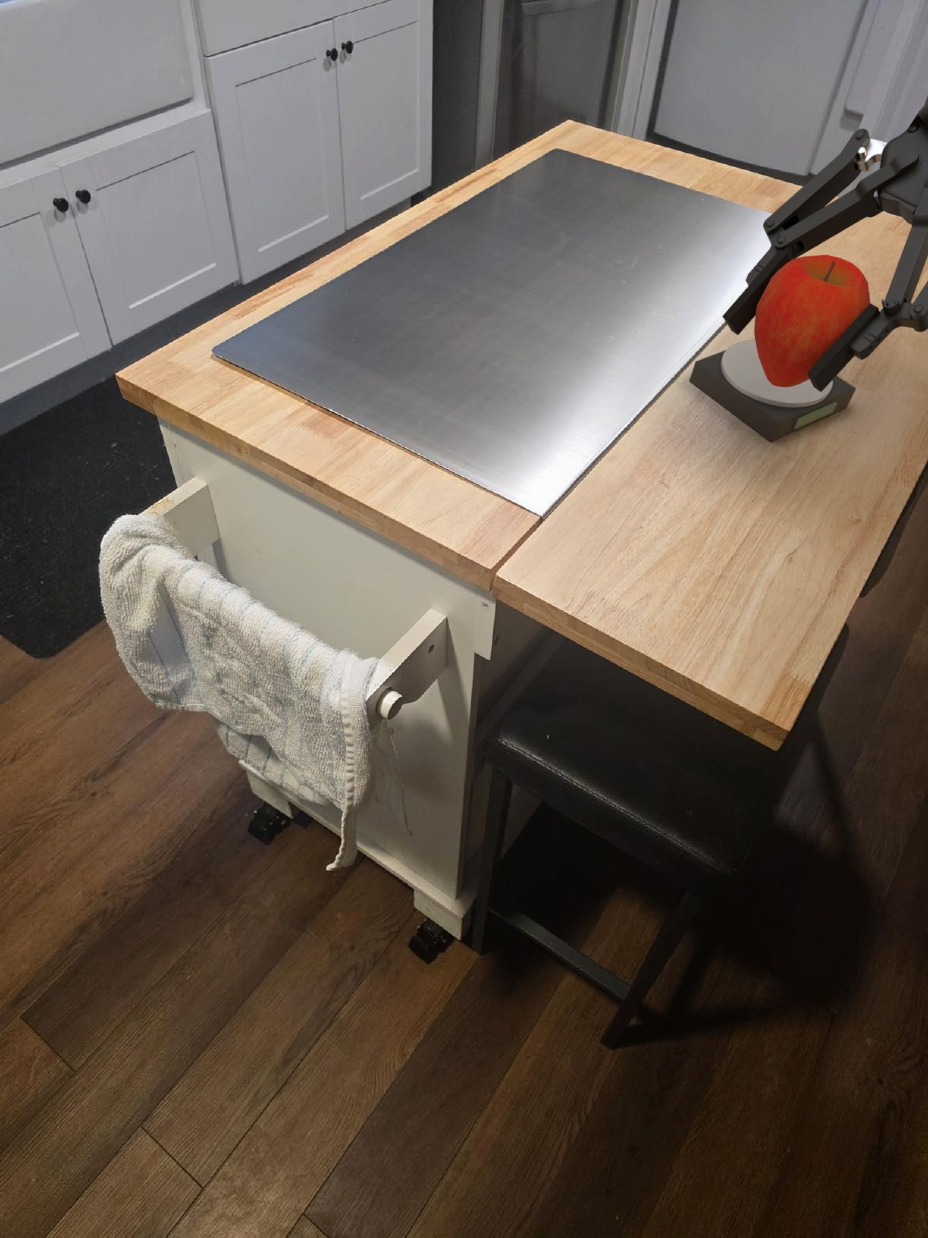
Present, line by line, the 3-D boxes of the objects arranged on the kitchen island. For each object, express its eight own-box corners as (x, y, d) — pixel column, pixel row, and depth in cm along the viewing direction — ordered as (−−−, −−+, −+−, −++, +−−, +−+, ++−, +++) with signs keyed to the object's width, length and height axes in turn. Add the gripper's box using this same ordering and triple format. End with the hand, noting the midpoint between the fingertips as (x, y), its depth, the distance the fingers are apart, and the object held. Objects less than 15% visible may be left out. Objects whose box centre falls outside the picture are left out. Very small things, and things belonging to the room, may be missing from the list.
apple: (806, 428, 70) (862, 304, 62) (714, 383, 73) (755, 260, 65) (848, 383, 75) (906, 263, 67) (760, 342, 78) (805, 223, 70)
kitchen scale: (848, 409, 93) (860, 384, 91) (772, 443, 88) (782, 418, 86) (764, 351, 100) (773, 327, 97) (688, 381, 95) (696, 356, 92)
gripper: (1123, 192, 62) (883, 442, 68) (884, 87, 73) (693, 312, 78) (1134, 123, 56) (868, 406, 61) (870, 20, 66) (665, 269, 72)
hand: (770, 353), depth 70 cm, fingers closed on apple, 8 cm apart
